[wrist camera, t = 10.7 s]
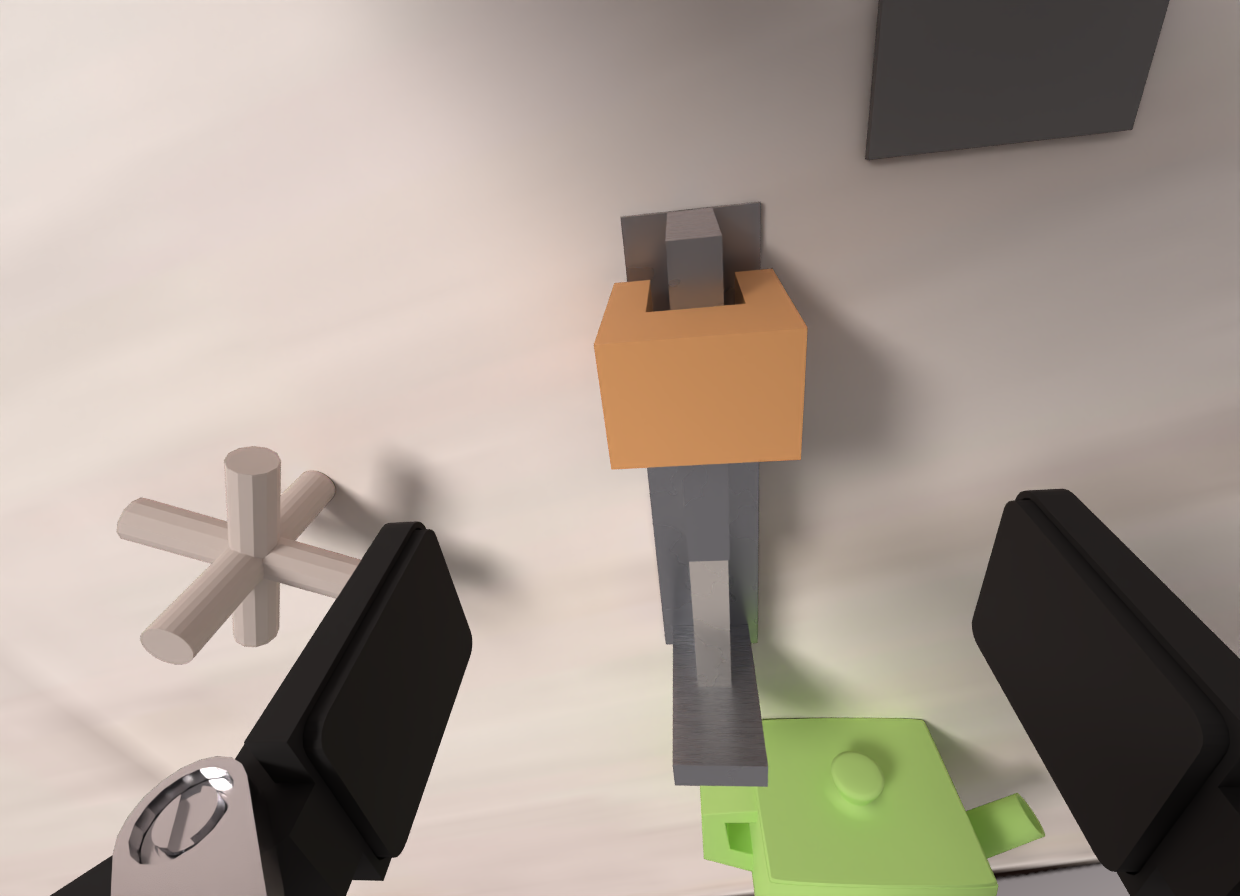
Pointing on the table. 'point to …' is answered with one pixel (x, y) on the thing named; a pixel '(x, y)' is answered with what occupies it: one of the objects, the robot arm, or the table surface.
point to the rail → (706, 517)
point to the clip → (702, 377)
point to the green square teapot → (859, 815)
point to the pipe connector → (238, 555)
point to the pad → (1006, 71)
